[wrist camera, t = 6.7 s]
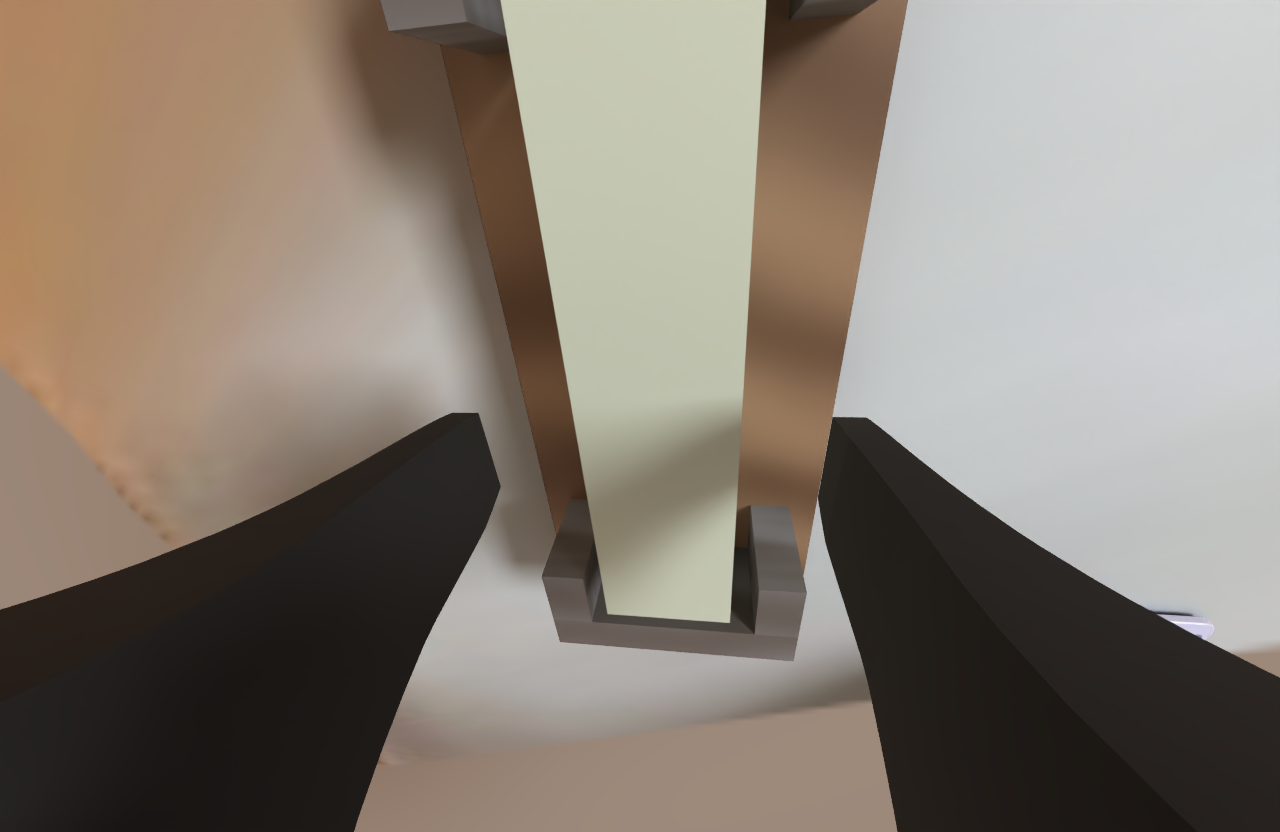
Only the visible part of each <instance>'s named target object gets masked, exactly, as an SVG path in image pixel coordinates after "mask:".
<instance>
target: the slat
mask: <svg viewBox="0 0 1280 832" xmlns="http://www.w3.org/2000/svg"><path fill="white" fill-rule="evenodd" d="M501 6H502V12H503V17H504V23H505V29H506V35H507V40H508V46H509V52H510V58H511V63H512V69H513V75H514V81H515V86H516V92H517V98H518V103H519V109H520V115H521V121H522V126H523V132H524V138H525V144H526V149H527V155H528V161H529V166H530V172H531V178H532V184H533V189H534V195H535V201H536V207H537V212H538V218H539V224H540V230H541V235H542V241H543V247H544V252H545V258H546V264H547V270H548V275H549V281H550V287H551V293H552V298H553V304H554V310H555V316H556V321H557V327H558V333H559V338H560V344H561V350H562V356H563V361H564V367H565V373H566V379H567V384H568V390H569V396H570V401H571V407H572V413H573V419H574V424H575V430H576V436H577V442H578V447H579V453H580V459H581V465H582V470H583V476H584V482H585V487H586V493H587V499H588V505H589V510H590V516H591V522H592V528H593V533H594V539H595V545H596V551H597V556H598V562H599V568H600V573H601V579H602V585H603V591H604V596H605V602H606V608H607V614H614V615H628V616H641V617H655V618H669V619H682V620H696V621H709V622H723V623H730V612H731V595H732V578H733V560H734V543H735V526H736V509H737V492H738V475H739V457H740V440H741V423H742V406H743V389H744V372H745V354H746V337H747V320H748V303H749V286H750V269H751V251H752V234H753V217H754V200H755V183H756V166H757V148H758V131H759V114H760V97H761V80H762V63H763V46H764V28H765V11H766V0H501Z"/></svg>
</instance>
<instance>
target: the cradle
mask: <svg viewBox="0 0 1280 832" xmlns="http://www.w3.org/2000/svg"><path fill="white" fill-rule="evenodd" d="M380 1H381V5H382V9H383V12H384V16H385V19H386V23H387V26H388V30H389V31H390V32H394V33H398V34H402V35H406V36H410V37H414V38H418V39H422V40H426V41H429V42H433V43H437V44H440V46H441V50H442V54H443V59H444V63H445V67H446V71H447V75H448V80H449V84H450V88H451V92H452V97H453V101H454V105H455V109H456V113H457V118H458V122H459V126H460V130H461V134H462V139H463V143H464V147H465V151H466V156H467V160H468V164H469V168H470V172H471V177H472V181H473V185H474V189H475V194H476V198H477V202H478V206H479V210H480V215H481V219H482V223H483V227H484V232H485V236H486V240H487V244H488V248H489V253H490V257H491V261H492V265H493V269H494V274H495V278H496V282H497V286H498V291H499V295H500V299H501V303H502V307H503V312H504V316H505V320H506V324H507V329H508V333H509V337H510V341H511V345H512V350H513V354H514V358H515V362H516V367H517V371H518V375H519V379H520V383H521V388H522V392H523V396H524V400H525V404H526V409H527V413H528V417H529V421H530V426H531V430H532V434H533V438H534V442H535V447H536V451H537V455H538V459H539V464H540V468H541V472H542V476H543V480H544V485H545V489H546V493H547V497H548V502H549V506H550V510H551V514H552V518H553V523H554V527H555V531H556V535H557V536H556V539H555V541H554V544H553V547H552V550H551V552H550V555H549V558H548V561H547V563H546V566H545V569H544V572H543V574H542V579H543V583H544V586H545V590H546V593H547V597H548V601H549V604H550V608H551V611H552V615H553V618H554V622H555V626H556V629H557V633H558V636H559V640H560V642H567V643H579V644H592V645H604V646H616V647H628V648H640V649H652V650H664V651H676V652H688V653H700V654H712V655H724V656H736V657H748V658H760V659H772V660H784V661H794V656H795V650H796V645H797V640H798V635H799V630H800V625H801V619H802V614H803V609H804V604H805V599H806V594H807V592H806V587H805V582H804V577H803V574H804V569H805V563H806V558H807V552H808V547H809V541H810V536H811V530H812V525H813V519H814V514H815V508H816V503H817V497H818V492H819V486H820V481H821V475H822V470H823V464H824V459H825V453H826V448H827V442H828V437H829V431H830V426H831V420H832V415H833V409H834V404H835V398H836V393H837V387H838V382H839V376H840V371H841V365H842V360H843V354H844V349H845V343H846V338H847V332H848V327H849V321H850V316H851V310H852V305H853V299H854V294H855V288H856V283H857V277H858V272H859V266H860V261H861V255H862V250H863V244H864V239H865V233H866V228H867V222H868V217H869V211H870V206H871V200H872V195H873V189H874V184H875V178H876V173H877V167H878V162H879V156H880V151H881V145H882V140H883V134H884V129H885V123H886V118H887V112H888V107H889V101H890V96H891V90H892V85H893V79H894V74H895V68H896V63H897V57H898V52H899V46H900V41H901V35H902V30H903V24H904V19H905V13H906V8H907V2H908V0H766V11H765V28H764V46H763V63H762V80H761V97H760V114H759V131H758V148H757V166H756V183H755V200H754V217H753V234H752V251H751V269H750V286H749V303H748V320H747V337H746V354H745V372H744V389H743V406H742V423H741V440H740V457H739V475H738V492H737V509H736V526H735V543H734V560H733V578H732V595H731V612H730V623H723V622H709V621H696V620H682V619H669V618H655V617H641V616H628V615H614V614H607V608H606V602H605V596H604V591H603V585H602V579H601V573H600V568H599V562H598V556H597V551H596V545H595V539H594V533H593V528H592V522H591V516H590V510H589V505H588V499H587V493H586V487H585V482H584V476H583V470H582V465H581V459H580V453H579V447H578V442H577V436H576V430H575V424H574V419H573V413H572V407H571V401H570V396H569V390H568V384H567V379H566V373H565V367H564V361H563V356H562V350H561V344H560V338H559V333H558V327H557V321H556V316H555V310H554V304H553V298H552V293H551V287H550V281H549V275H548V270H547V264H546V258H545V252H544V247H543V241H542V235H541V230H540V224H539V218H538V212H537V207H536V201H535V195H534V189H533V184H532V178H531V172H530V166H529V161H528V155H527V149H526V144H525V138H524V132H523V126H522V121H521V115H520V109H519V103H518V98H517V92H516V86H515V81H514V75H513V69H512V63H511V58H510V52H509V46H508V40H507V35H506V29H505V23H504V17H503V12H502V6H501V0H380Z"/></svg>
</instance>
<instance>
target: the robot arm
mask: <svg viewBox="0 0 1280 832" xmlns="http://www.w3.org/2000/svg"><path fill="white" fill-rule="evenodd" d="M500 487H501V486H500V483H499V480H498V476H497V473H496V470H495V466H494V463H493V460H492V456H491V453H490V450H489V446H488V443H487V440H486V437H485V433H484V430H483V427H482V423H481V420H480V417H479V413H451V414H448V415H446V416H444V417H442V418H439V419H437V420H435V421H433V422H432V423H430V424H428V425H426V426H424V427H422V428H420V429H419V430H417V431H415V432H413V433H411V434H410V435H408V436H406V437H404V438H403V439H401V440H399V441H397V442H396V443H394V444H392V445H390V446H389V447H387V448H385V449H383V450H381V451H380V452H378V453H376V454H374V455H373V456H371V457H369V458H367V459H366V460H364V461H362V462H360V463H359V464H357V465H355V466H353V467H351V468H349V469H347V470H346V471H344V472H342V473H340V474H338V475H336V476H334V477H332V478H331V479H329V480H327V481H325V482H323V483H321V484H319V485H317V486H316V487H314V488H312V489H310V490H308V491H306V492H304V493H302V494H300V495H298V496H296V497H294V498H292V499H290V500H288V501H286V502H284V503H282V504H280V505H278V506H276V507H274V508H272V509H270V510H267V511H265V512H263V513H261V514H259V515H256V516H254V517H252V518H250V519H248V520H245V521H243V522H241V523H239V524H236V525H234V526H232V527H230V528H227V529H225V530H223V531H220V532H218V533H215V534H213V535H210V536H208V537H205V538H203V539H200V540H198V541H195V542H193V543H190V544H188V545H185V546H183V547H180V548H177V549H175V550H172V551H170V552H167V553H165V554H162V555H160V556H157V557H155V558H152V559H150V560H147V561H144V562H142V563H139V564H136V565H134V566H131V567H128V568H125V569H122V570H120V571H117V572H114V573H111V574H108V575H105V576H102V577H100V578H97V579H94V580H91V581H88V582H85V583H82V584H79V585H76V586H73V587H70V588H67V589H64V590H61V591H58V592H55V593H52V594H49V595H46V596H43V597H40V598H37V599H33V600H30V601H27V602H24V603H21V604H18V605H14V606H11V607H8V608H5V609H1V610H0V832H354V830H355V827H356V823H357V820H358V817H359V814H360V811H361V808H362V805H363V802H364V799H365V797H366V794H367V791H368V788H369V785H370V782H371V779H372V777H373V774H374V771H375V768H376V765H377V762H378V760H379V757H380V754H381V751H382V748H383V746H384V743H385V740H386V738H387V735H388V733H389V730H390V727H391V725H392V722H393V720H394V717H395V714H396V712H397V709H398V707H399V704H400V701H401V699H402V696H403V694H404V691H405V689H406V686H407V684H408V682H409V679H410V677H411V675H412V672H413V670H414V667H415V665H416V663H417V660H418V658H419V655H420V653H421V651H422V648H423V646H424V644H425V641H426V639H427V637H428V635H429V633H430V631H431V629H432V627H433V625H434V623H435V621H436V619H437V617H438V615H439V614H440V612H441V610H442V608H443V606H444V604H445V603H446V601H447V599H448V597H449V595H450V593H451V591H452V590H453V588H454V586H455V584H456V582H457V580H458V579H459V577H460V575H461V573H462V571H463V569H464V568H465V566H466V564H467V562H468V560H469V558H470V556H471V555H472V553H473V551H474V549H475V547H476V545H477V543H478V541H479V539H480V538H481V536H482V534H483V532H484V530H485V528H486V525H487V523H488V520H489V518H490V515H491V512H492V510H493V507H494V504H495V501H496V498H497V496H498V493H499V490H500ZM818 501H819V507H820V513H821V520H822V526H823V531H824V536H825V542H826V546H827V549H828V553H829V556H830V559H831V563H832V566H833V569H834V572H835V576H836V579H837V582H838V585H839V588H840V592H841V595H842V598H843V601H844V604H845V607H846V611H847V614H848V617H849V620H850V623H851V626H852V630H853V633H854V636H855V639H856V642H857V645H858V649H859V652H860V655H861V659H862V662H863V666H864V670H865V673H866V677H867V681H868V685H869V690H870V694H871V699H872V704H873V709H874V713H875V718H876V723H877V728H878V732H879V737H880V742H881V746H882V752H883V757H884V762H885V768H886V773H887V778H888V783H889V788H890V793H891V798H892V804H893V809H894V814H895V820H896V825H897V831H898V832H1280V678H1279V677H1277V676H1275V675H1273V674H1271V673H1269V672H1267V671H1265V670H1263V669H1261V668H1259V667H1257V666H1255V665H1253V664H1251V663H1249V662H1247V661H1245V660H1243V659H1241V658H1239V657H1237V656H1235V655H1233V654H1231V653H1229V652H1227V651H1225V650H1223V649H1221V648H1219V647H1217V646H1215V645H1213V644H1211V643H1210V642H1208V641H1206V639H1207V638H1208V637H1209V636H1210V635H1211V634H1212V633H1213V632H1214V630H1215V627H1214V625H1213V624H1212V623H1211V622H1210V621H1209V620H1208V619H1206V618H1203V617H1194V616H1178V615H1162V614H1155V613H1153V612H1152V611H1150V610H1148V609H1146V608H1144V607H1142V606H1140V605H1139V604H1137V603H1135V602H1133V601H1131V600H1129V599H1128V598H1126V597H1124V596H1122V595H1121V594H1119V593H1117V592H1115V591H1114V590H1112V589H1110V588H1108V587H1107V586H1105V585H1103V584H1101V583H1100V582H1098V581H1096V580H1094V579H1093V578H1091V577H1089V576H1088V575H1086V574H1084V573H1083V572H1081V571H1080V570H1078V569H1076V568H1075V567H1073V566H1071V565H1070V564H1068V563H1066V562H1065V561H1063V560H1062V559H1060V558H1058V557H1057V556H1055V555H1053V554H1052V553H1050V552H1048V551H1047V550H1045V549H1044V548H1042V547H1040V546H1039V545H1037V544H1036V543H1034V542H1033V541H1031V540H1030V539H1028V538H1026V537H1025V536H1023V535H1022V534H1020V533H1019V532H1017V531H1016V530H1014V529H1013V528H1011V527H1010V526H1009V525H1007V524H1006V523H1004V522H1003V521H1001V520H1000V519H999V518H997V517H996V516H994V515H993V514H991V513H990V512H988V511H987V510H986V509H984V508H983V507H981V506H980V505H978V504H977V503H976V502H974V501H973V500H972V499H970V498H969V497H968V496H966V495H965V494H963V493H962V492H961V491H959V490H958V489H957V488H955V487H954V486H953V485H951V484H950V483H949V482H947V481H946V480H945V479H944V478H942V477H941V476H940V475H938V474H937V473H936V472H935V471H933V470H932V469H931V468H929V467H928V466H927V465H926V464H924V463H923V462H922V461H921V460H919V459H918V458H917V457H916V456H914V455H913V454H912V453H911V452H910V451H908V450H907V449H906V448H905V447H903V446H902V445H901V444H900V443H898V442H897V441H896V440H895V439H894V438H892V437H891V436H890V435H889V434H887V433H886V432H885V431H884V430H882V429H881V428H880V427H879V426H877V425H876V424H875V423H873V422H872V421H871V420H869V419H868V418H854V417H833V418H832V424H831V429H830V435H829V440H828V446H827V451H826V457H825V462H824V468H823V473H822V479H821V484H820V490H819V495H818Z"/></svg>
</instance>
